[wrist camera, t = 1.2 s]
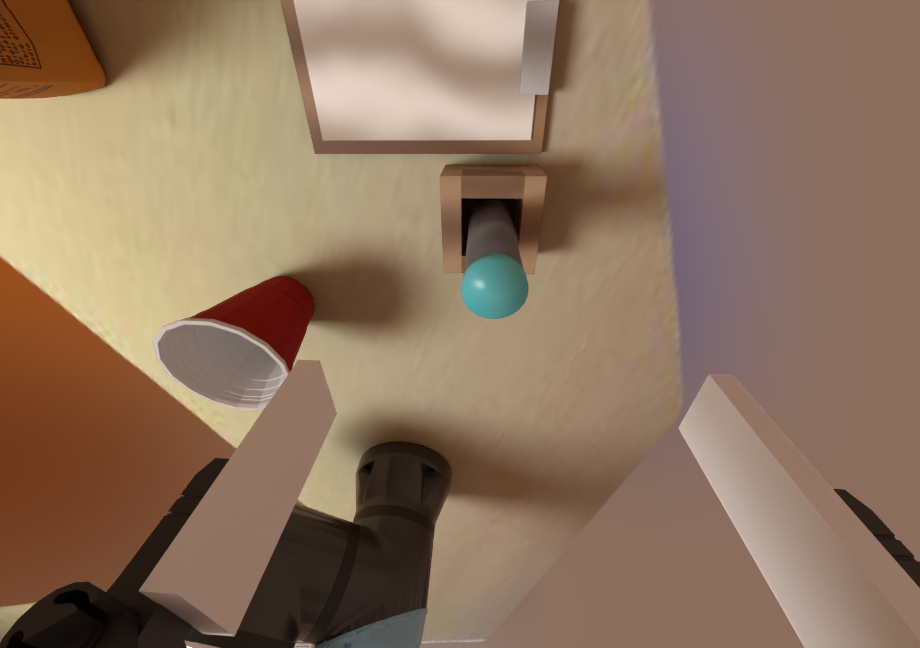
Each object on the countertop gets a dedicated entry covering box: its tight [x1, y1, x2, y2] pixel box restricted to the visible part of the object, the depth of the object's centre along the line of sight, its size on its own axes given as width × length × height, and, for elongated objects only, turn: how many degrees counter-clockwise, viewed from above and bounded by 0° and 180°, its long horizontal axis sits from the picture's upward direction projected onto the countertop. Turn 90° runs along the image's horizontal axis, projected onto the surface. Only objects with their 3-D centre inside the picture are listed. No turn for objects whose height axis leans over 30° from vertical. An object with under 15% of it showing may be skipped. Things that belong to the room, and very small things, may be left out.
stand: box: [440, 166, 547, 274], centre depth 29 cm, size 8×8×4 cm
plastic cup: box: [153, 277, 314, 410], centre depth 33 cm, size 11×11×12 cm
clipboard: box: [281, 0, 559, 154], centre depth 24 cm, size 13×19×2 cm
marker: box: [462, 200, 528, 319], centre depth 25 cm, size 4×4×15 cm
